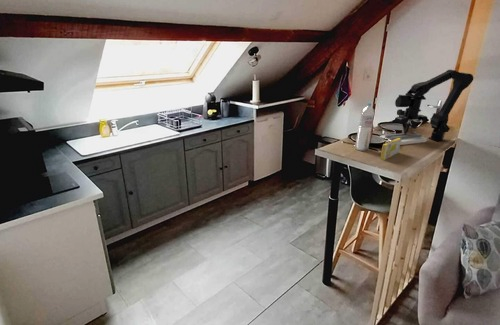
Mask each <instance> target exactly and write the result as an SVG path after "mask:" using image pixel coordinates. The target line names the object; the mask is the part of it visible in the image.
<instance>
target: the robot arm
mask: <svg viewBox="0 0 500 325" xmlns="http://www.w3.org/2000/svg"><path fill="white" fill-rule="evenodd" d="M449 80H453V81H452V82H453V83H452V88H451V90H450V92H449V94H448V96H447V98H446V99H445V101H444V103H443V105H442V106H441V108H440V110H439V111H438V112H437V113H435V112H434V113H432V115H431V118H430V121H429V122H430V125H431V129H433V130H432V132H431V135H430V136H429V137H428V139H429V140H432V141H434V142H437V143H438V142H445V141H446V139H444V138H445V135H446V133H448V132H449V131H450V130H451V128H450V127H449V125H448V123H449V115H450V113H451V112H452V110H453V108H454V107H455V104H456V103H457V101H458V100H459V98H460V96H461V94H462V93H463V91H464V90H465V89H467V88H468V87H469V86H470V85H471V84H472V83H473V81H474V76H473V74H471V73H469V72H468V73H467V72H460V71H457V70H455V69H448V70H446V71H445V72H442V73H441V74H438V75H436V76H435V77H432V78H430V79H429V80H426V81H422V82H417V83H414V84H413V85H411V87H410V89H409V90H408V91H407V92H406V93H405V94H398V97H397V98H396V99H395V102H394V105H395V107H396V108H400V109H397V111H396V115H397V116H396V117H395V118H394V122H396V123H399V124H400V125H402V130H404V133H405V134H406V133H407V131H408V129H409V127H412V128H414V129H415V130H416V128H418V127H419V125H421V124H422V123H423V122H424V123H425V122H427V121H428V119H429V118H428V116H427V115H423V114H419V112H422V110H421V109H420V108H421V104H422V101H423V100H427V98H426V97H425V95H426V94H427V93H429V91H430V90H431V89H432V88H435V87H436V86H439V85H441V84H443V83H445V82H447V81H449ZM401 108H405V110H403V109H401Z"/></svg>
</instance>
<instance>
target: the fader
mask: <svg viewBox="0 0 500 325" xmlns="http://www.w3.org/2000/svg"><path fill="white" fill-rule="evenodd" d="M414 132H416V129H414V128H412V127H411V126H410V127H409V129H408V131H407V133H406V134H405V133H404V130H403V129H402V131H401V133H404V134H405V135H414Z"/></svg>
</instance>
